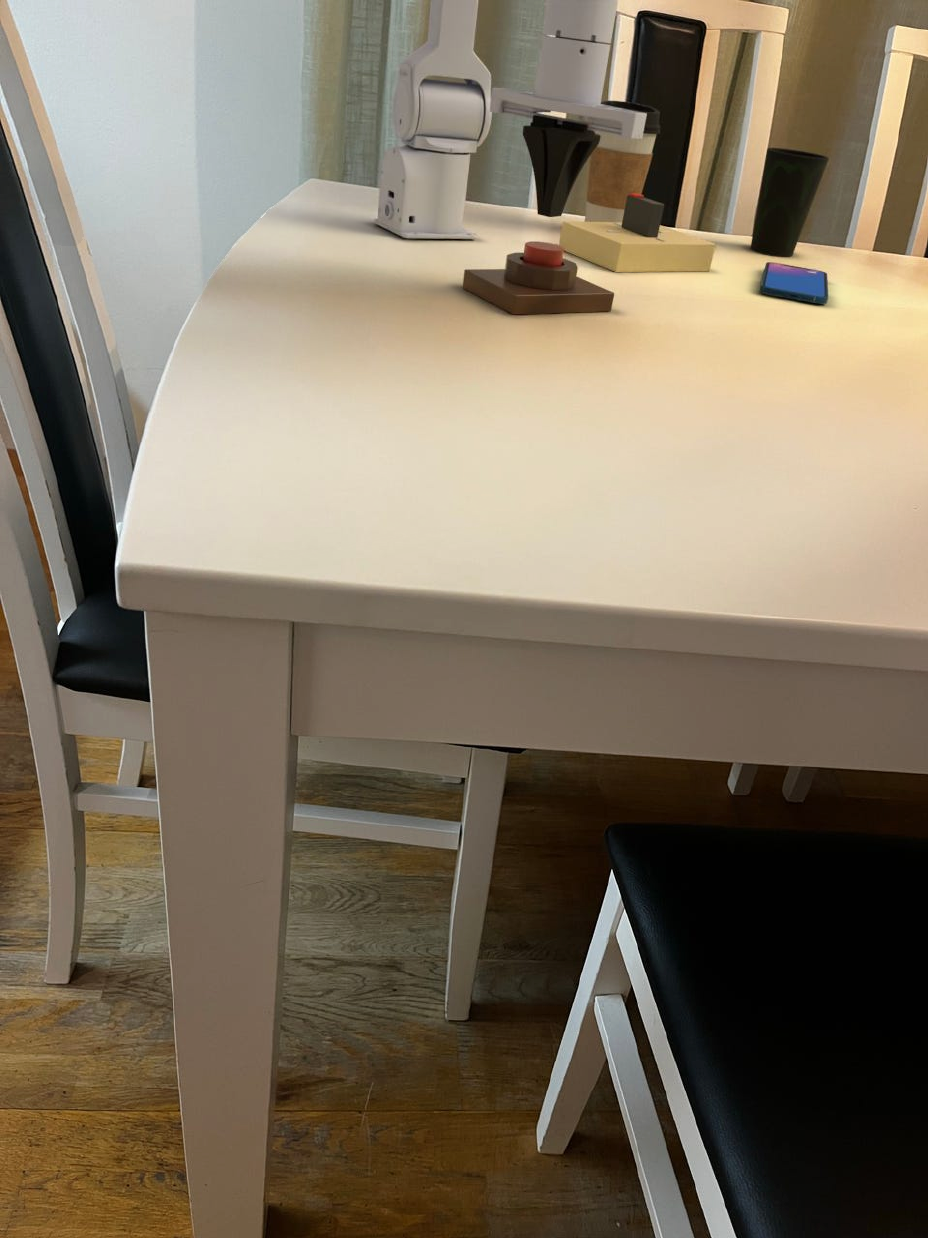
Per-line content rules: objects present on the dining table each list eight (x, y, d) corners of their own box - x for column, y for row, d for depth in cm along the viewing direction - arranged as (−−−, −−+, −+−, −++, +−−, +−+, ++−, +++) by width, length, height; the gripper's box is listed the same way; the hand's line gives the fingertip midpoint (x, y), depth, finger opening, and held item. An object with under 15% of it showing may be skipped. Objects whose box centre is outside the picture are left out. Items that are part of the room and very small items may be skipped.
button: (536, 270, 87) (539, 250, 86) (514, 260, 90) (517, 240, 89) (568, 270, 89) (571, 250, 88) (546, 260, 92) (549, 241, 91)
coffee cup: (636, 233, 129) (662, 106, 121) (640, 245, 121) (667, 111, 114) (574, 224, 129) (595, 97, 121) (574, 235, 122) (596, 101, 114)
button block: (513, 314, 85) (519, 273, 83) (461, 287, 91) (466, 248, 90) (611, 311, 90) (618, 272, 89) (556, 285, 97) (562, 249, 95)
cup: (804, 253, 131) (832, 156, 125) (796, 261, 125) (825, 159, 118) (747, 242, 133) (772, 146, 127) (737, 249, 127) (762, 149, 121)
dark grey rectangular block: (657, 237, 110) (665, 201, 108) (646, 236, 109) (653, 201, 107) (632, 227, 114) (638, 193, 112) (621, 226, 113) (627, 192, 111)
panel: (615, 271, 106) (621, 241, 104) (558, 248, 114) (562, 219, 112) (709, 270, 113) (716, 242, 111) (649, 248, 120) (654, 221, 119)
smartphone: (760, 286, 104) (765, 260, 117) (757, 294, 105) (763, 268, 117) (829, 299, 103) (827, 271, 115) (826, 307, 103) (825, 279, 116)
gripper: (676, 53, 79) (641, 228, 86) (531, 33, 86) (509, 196, 93) (634, 48, 74) (601, 234, 81) (484, 26, 81) (465, 200, 88)
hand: (549, 215), depth 87 cm, fingers closed
